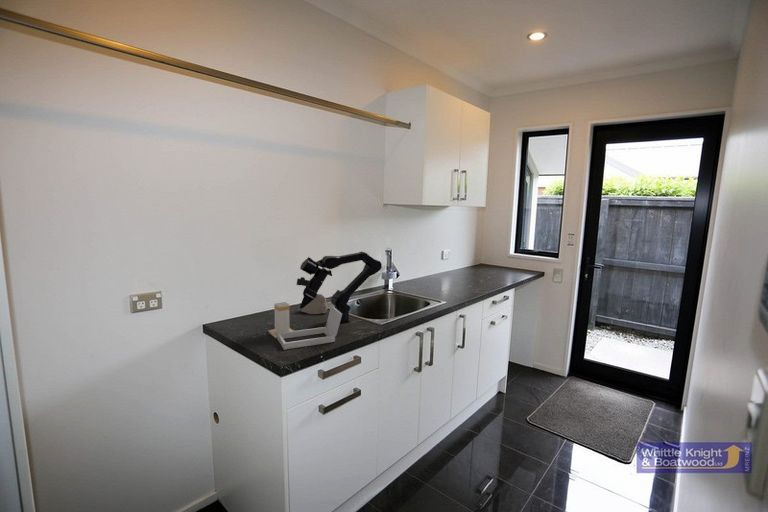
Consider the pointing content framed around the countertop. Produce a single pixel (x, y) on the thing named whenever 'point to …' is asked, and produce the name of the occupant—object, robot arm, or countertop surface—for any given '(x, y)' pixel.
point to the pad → (275, 332)
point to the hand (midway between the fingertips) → (300, 307)
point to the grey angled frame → (313, 332)
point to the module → (282, 317)
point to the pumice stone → (316, 305)
